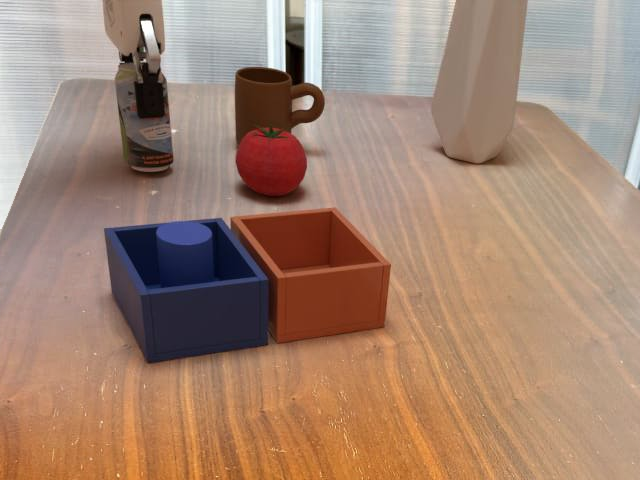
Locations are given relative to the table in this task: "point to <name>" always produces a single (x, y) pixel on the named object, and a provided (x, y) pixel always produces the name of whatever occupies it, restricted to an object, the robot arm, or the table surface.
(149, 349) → the blue bin
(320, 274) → the terracotta bin
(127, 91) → the beverage can
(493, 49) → the vase
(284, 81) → the mug
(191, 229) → the blue cylinder
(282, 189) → the tomato
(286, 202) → the table surface
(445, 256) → the table surface
